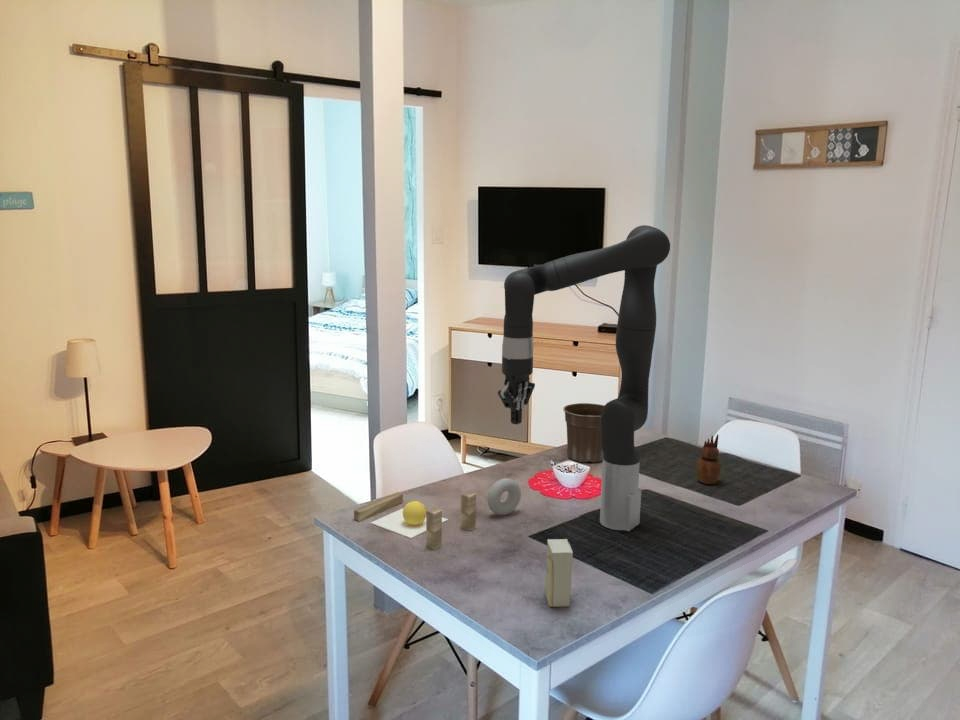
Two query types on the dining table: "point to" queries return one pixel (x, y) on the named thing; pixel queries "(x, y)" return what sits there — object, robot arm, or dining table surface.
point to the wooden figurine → (709, 463)
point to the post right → (468, 511)
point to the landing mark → (401, 524)
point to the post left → (434, 528)
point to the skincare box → (558, 572)
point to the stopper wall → (378, 506)
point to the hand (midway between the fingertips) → (516, 423)
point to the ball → (414, 513)
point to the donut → (498, 490)
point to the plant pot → (584, 432)
